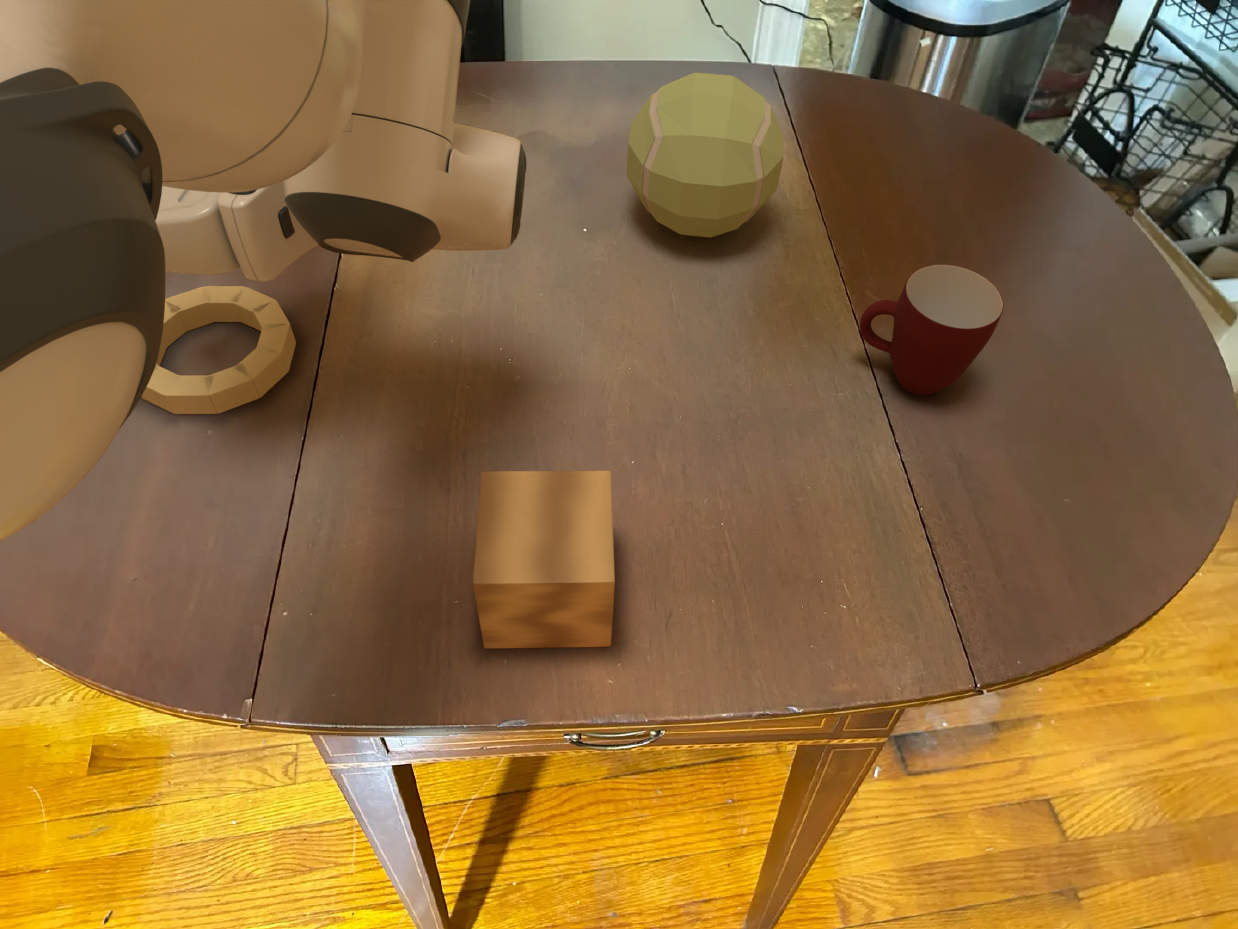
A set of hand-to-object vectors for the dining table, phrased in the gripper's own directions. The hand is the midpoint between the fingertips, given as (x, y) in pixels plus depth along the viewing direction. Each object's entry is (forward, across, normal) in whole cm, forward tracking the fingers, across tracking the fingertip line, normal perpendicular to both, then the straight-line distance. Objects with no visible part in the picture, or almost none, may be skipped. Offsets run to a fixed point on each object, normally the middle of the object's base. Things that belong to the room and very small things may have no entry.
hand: (113, 148), depth 65 cm
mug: (-62, -8, +21) cm, 66 cm away
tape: (-1, 0, +21) cm, 21 cm away
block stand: (-35, +19, +21) cm, 45 cm away
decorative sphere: (-42, -28, +21) cm, 54 cm away
